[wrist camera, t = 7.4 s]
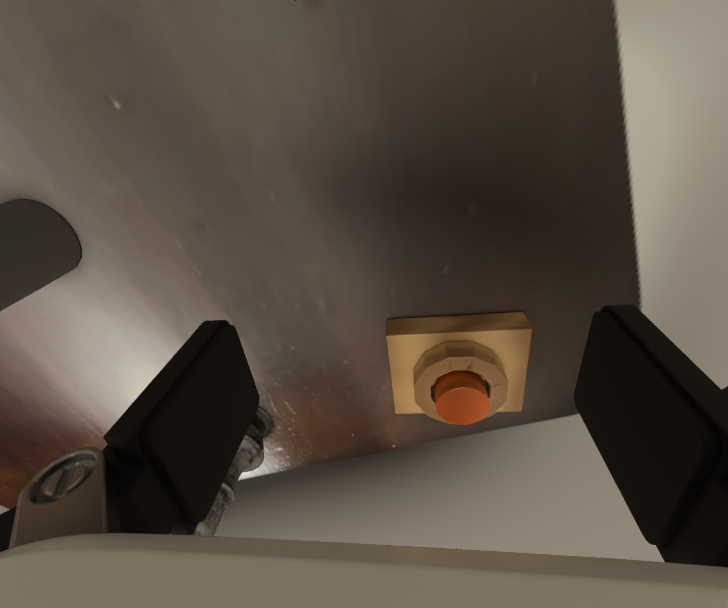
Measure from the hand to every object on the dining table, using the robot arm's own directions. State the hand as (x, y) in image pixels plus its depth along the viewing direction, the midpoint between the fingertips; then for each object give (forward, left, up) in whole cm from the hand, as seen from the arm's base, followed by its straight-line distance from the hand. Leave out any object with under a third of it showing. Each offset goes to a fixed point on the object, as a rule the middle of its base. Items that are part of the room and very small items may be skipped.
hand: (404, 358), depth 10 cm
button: (-3, +13, -12) cm, 18 cm away
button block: (-3, +13, -16) cm, 21 cm away
